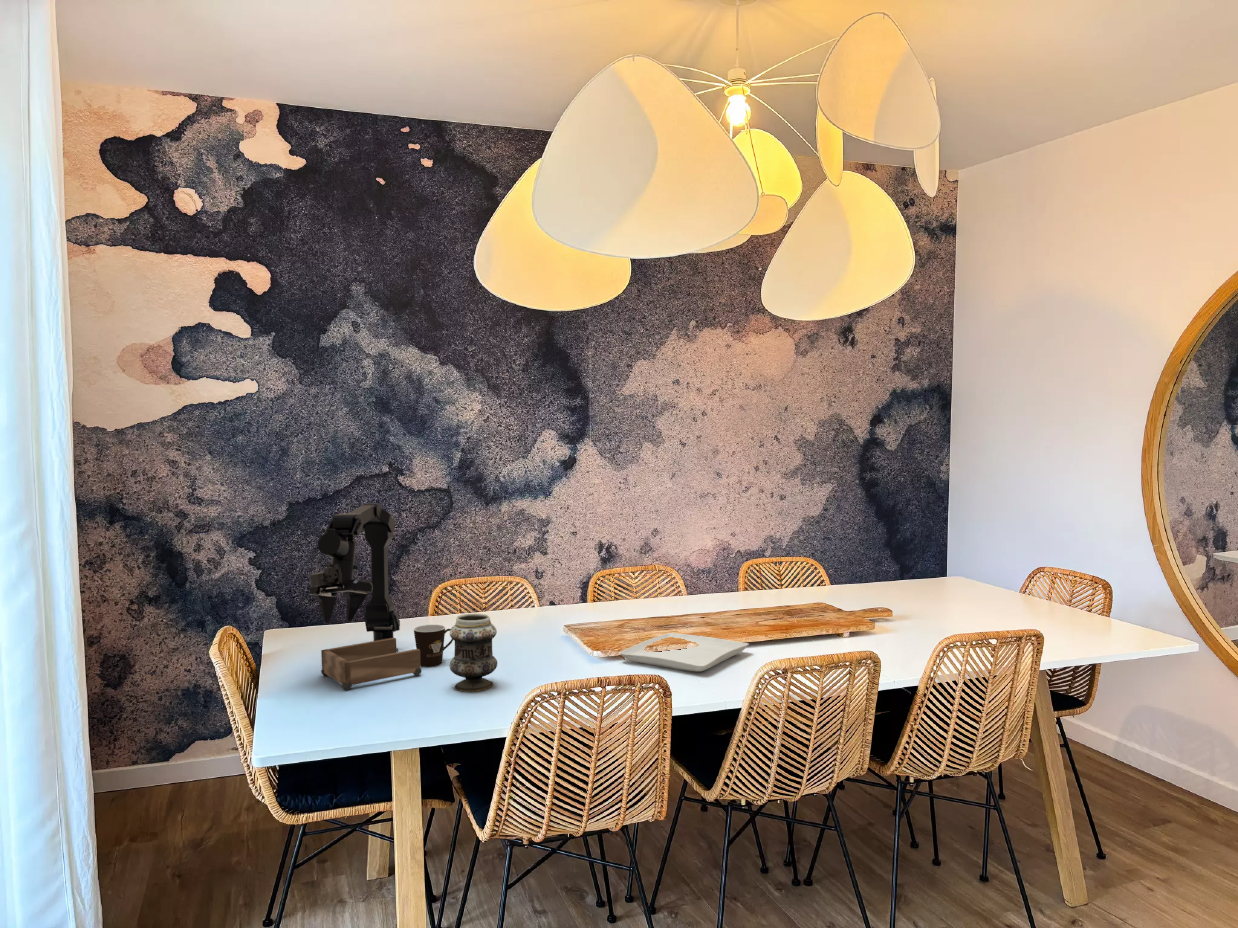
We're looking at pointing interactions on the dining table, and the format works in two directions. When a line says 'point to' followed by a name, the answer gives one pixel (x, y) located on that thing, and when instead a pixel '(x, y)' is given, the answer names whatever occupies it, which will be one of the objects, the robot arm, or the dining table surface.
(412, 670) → the caster frame
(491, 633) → the apothecary jar
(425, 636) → the coffee mug
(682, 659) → the square plate
